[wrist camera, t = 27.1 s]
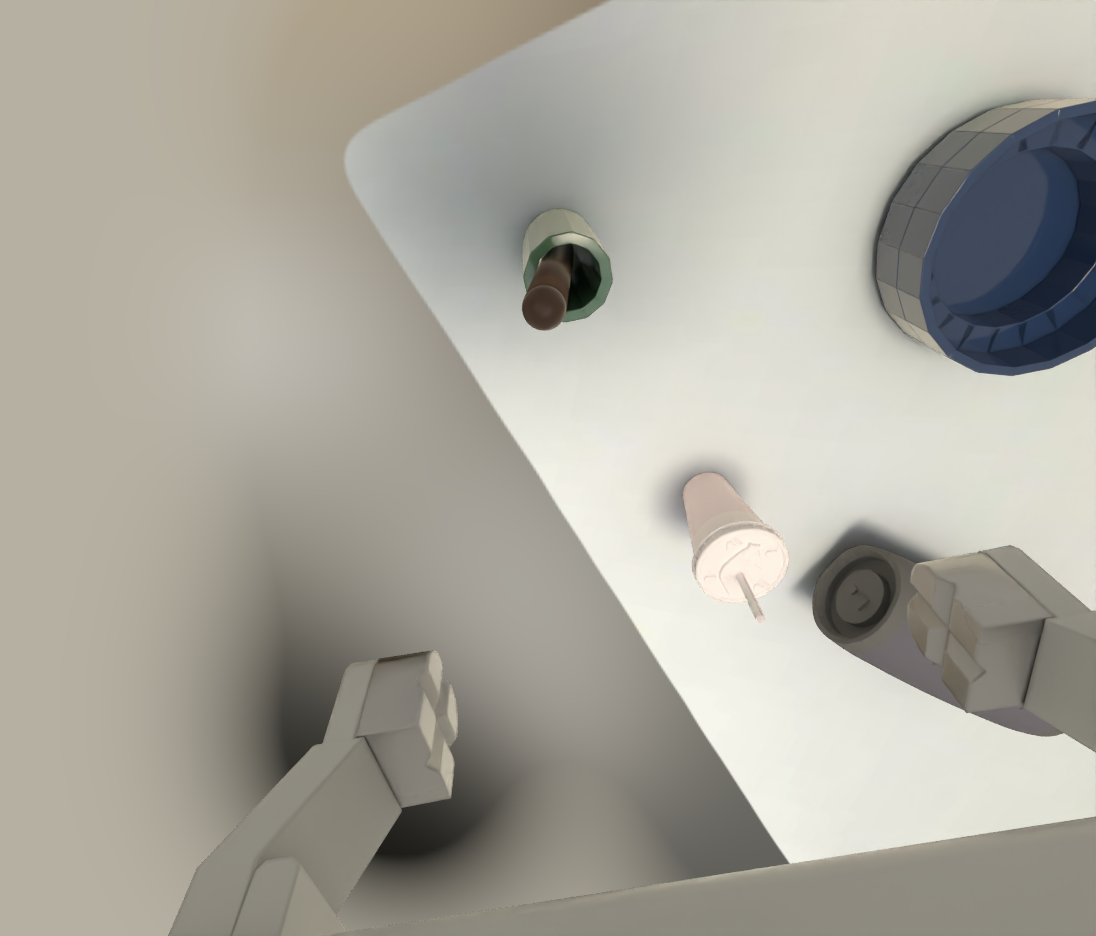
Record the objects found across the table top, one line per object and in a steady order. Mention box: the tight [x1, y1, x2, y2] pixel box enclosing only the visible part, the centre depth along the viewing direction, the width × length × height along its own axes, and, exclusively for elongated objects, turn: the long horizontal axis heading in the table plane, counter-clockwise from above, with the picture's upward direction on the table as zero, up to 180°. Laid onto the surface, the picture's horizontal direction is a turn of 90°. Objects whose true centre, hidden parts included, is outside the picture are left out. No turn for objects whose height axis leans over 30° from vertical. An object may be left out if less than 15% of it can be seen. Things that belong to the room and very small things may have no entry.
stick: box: [522, 244, 574, 331], centre depth 33 cm, size 2×2×18 cm
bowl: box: [876, 98, 1096, 376], centre depth 40 cm, size 15×15×6 cm
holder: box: [522, 209, 613, 322], centre depth 38 cm, size 5×5×9 cm
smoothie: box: [683, 472, 789, 622], centre depth 45 cm, size 6×6×14 cm
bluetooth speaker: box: [812, 545, 1063, 736], centre depth 54 cm, size 23×9×10 cm, turn 59°
